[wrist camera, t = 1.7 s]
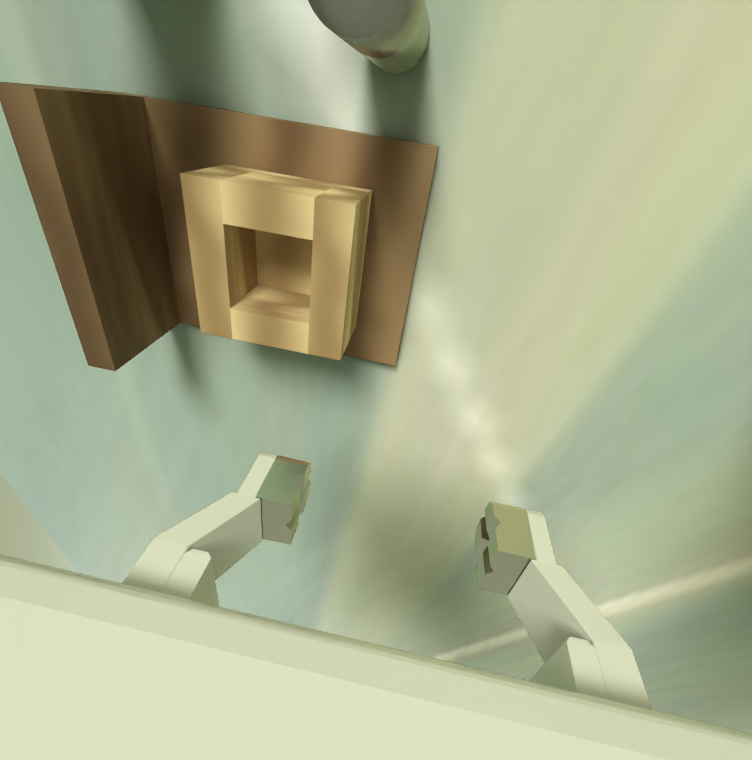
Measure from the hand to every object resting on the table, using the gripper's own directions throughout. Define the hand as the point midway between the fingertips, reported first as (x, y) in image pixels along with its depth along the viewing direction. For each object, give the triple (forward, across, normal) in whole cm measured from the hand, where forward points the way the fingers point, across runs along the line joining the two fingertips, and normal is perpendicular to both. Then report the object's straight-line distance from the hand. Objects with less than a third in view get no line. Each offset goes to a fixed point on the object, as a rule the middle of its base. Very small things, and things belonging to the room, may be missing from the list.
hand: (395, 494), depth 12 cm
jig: (+21, +12, 0) cm, 24 cm away
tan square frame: (+20, +10, 0) cm, 22 cm away
